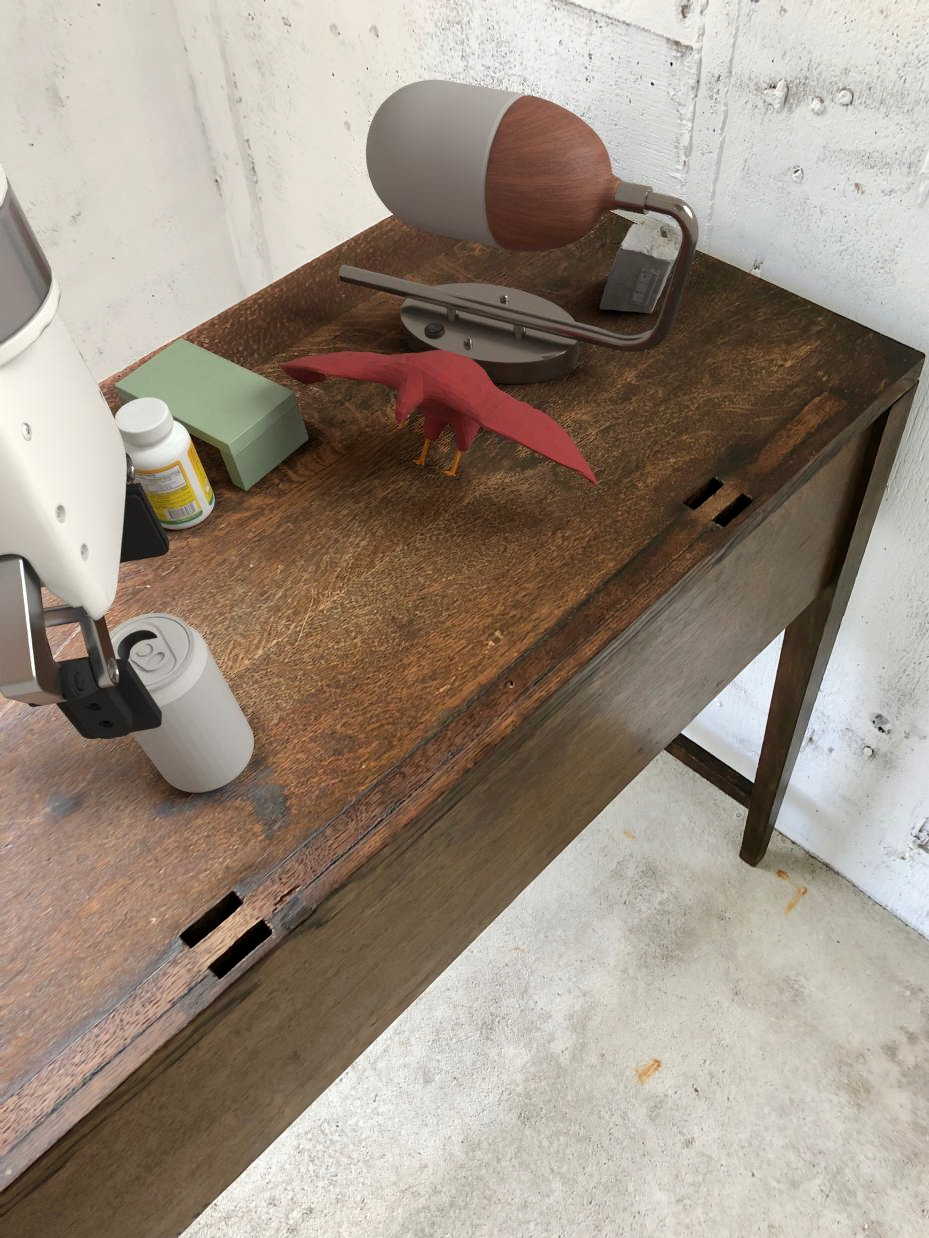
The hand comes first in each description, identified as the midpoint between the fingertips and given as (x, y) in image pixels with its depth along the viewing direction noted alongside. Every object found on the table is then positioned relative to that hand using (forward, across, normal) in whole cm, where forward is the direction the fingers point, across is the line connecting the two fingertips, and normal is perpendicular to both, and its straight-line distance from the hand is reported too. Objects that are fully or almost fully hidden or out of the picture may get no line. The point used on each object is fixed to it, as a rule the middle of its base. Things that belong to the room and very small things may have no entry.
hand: (131, 635), depth 42 cm
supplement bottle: (+22, -32, -6) cm, 40 cm away
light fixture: (+22, -46, +24) cm, 57 cm away
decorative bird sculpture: (+22, -33, +17) cm, 43 cm away
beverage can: (+22, -8, -4) cm, 24 cm away
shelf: (+22, -41, -3) cm, 47 cm away
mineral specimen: (+22, -50, +37) cm, 66 cm away
